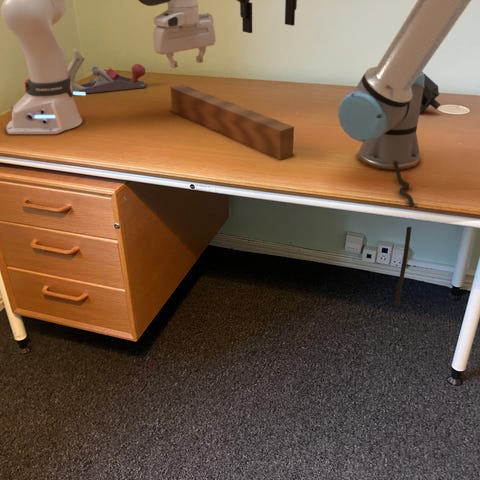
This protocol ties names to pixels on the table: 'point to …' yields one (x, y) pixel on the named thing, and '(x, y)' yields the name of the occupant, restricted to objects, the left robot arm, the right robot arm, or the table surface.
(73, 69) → the hand plane
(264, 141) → the bar
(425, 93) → the tool
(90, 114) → the table surface
